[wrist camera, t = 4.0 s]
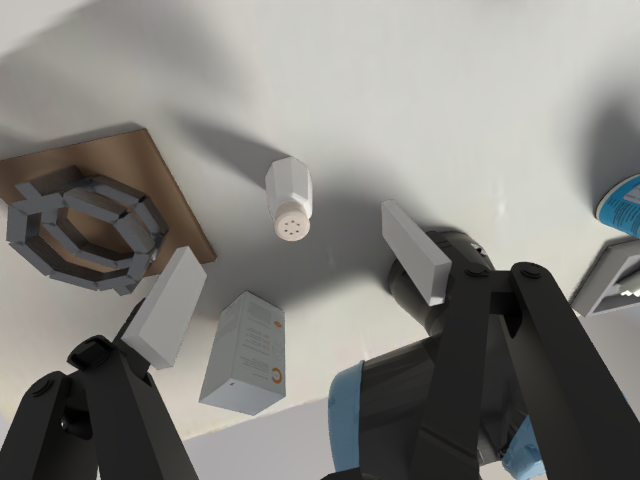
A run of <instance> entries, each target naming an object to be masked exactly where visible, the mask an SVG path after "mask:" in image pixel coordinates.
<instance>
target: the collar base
mask: <svg viewBox="0 0 640 480" xmlns="http://www.w3.org/2000/svg"><path fill="white" fill-rule="evenodd" d="M72 165H76V166H77V167H78V169H79V170H80V171H81V172H82V174H83V175H84V176H90V175H94V174H99V176H100V175H102V174H103V175H105V176H108V177H110V178H112V179H114V180H117V181H119V182H121V183H123V184H126V185H128V186H130V187H132V188H135V189H137V190H139V191H141V192H144V193H146V196H145V197H149V196H150V198H151V200H152V201H153V203H154V204H155V206H156V207H157V209H158V210H159V212H160V214H161V215H162V217H163V218H164V220H165V221H166V223H167V225H168V226H169V228H168V229H169V232H168V234H167V237H166V239H165V242H164V244H163V246H162V249H161V251H160V253H159V255H158V256H157V257H156V259H155V260H154V261H153V262H151V263H152V266H151V267H150V268H149V270H148V271H147V273H146V274H145V275H144V277H147V276H152V275H156V274H160V273H162V272H163V270H164V269H165V267H166V265H167V264H168V262H169V261H170V259H171V257H172V256H173V254H174V252H175V251H176V249H177V248H181V247H186V246H189V248H190V249H191V251H192V252H193V254H194V256H195V257H196V259H197V260H198V262H199V263H200V264H204V263H209V262H213V261H215V260H216V257H217V256H216V254H215V252H214V251H213V249H212V247H211V245H210V243H209V242H208V240H207V238H206V236H205V234H204V233H203V231H202V229H201V227H200V225H199V223H198V222H197V220H196V218H195V216H194V214H193V213H192V211H191V209H190V207H189V205H188V204H187V202H186V200H185V198H184V196H183V194H182V193H181V191H180V189H179V187H178V185H177V184H176V182H175V180H174V178H173V176H172V175H171V173H170V171H169V169H168V167H167V165H166V164H165V162H164V160H163V158H162V156H161V155H160V153H159V151H158V149H157V147H156V146H155V144H154V142H153V140H152V138H151V137H150V135H149V133H148V131H147V129H142V130H137V131H133V132H128V133H124V134H119V135H115V136H110V137H106V138H101V139H97V140H92V141H88V142H83V143H79V144H74V145H70V146H65V147H61V148H56V149H52V150H47V151H42V152H38V153H33V154H29V155H24V156H20V157H15V158H11V159H6V160H2V161H0V197H1V198H2V199H3V200H4V201H5V202H6V203H7V204H8V205H11V203H13V202H15V201H17V200H20V199H22V198H24V196H23V195H22V194H21V192H20V191H19V190H18V189H17V188H16V187H15V185H17V184H20V183H23V182H25V181H28V180H31V179H33V178H36V177H39V176H41V175H44V174H47V173H50V172H52V171H55V170H58V169H60V168H63V167H67V166H72ZM91 193H93V194H96V195H98V196H101V197H103V198H106V199H108V200H110V201H113V202H115V203H118V204H120V205H123V206H125V207H127V208H128V210H127V212H129V211H133V213H134V214H135V216H136V217H137V218H138V220H139V221H140V223H141V224H142V225H143V227H144V228H145V230H146V231H147V232H148V234H149V235H150V237H151V232H150V231H149V230H148V228H147V227H146V225H145V224H144V223H143V221H142V220H141V218H140V217H139V215H138V214H137V213H136V211H135V210H134V208H133V207H131V206H129V205H126V204H124V203H121V202H119V201H116V200H114V199H112V198H109V197H107V196H104V195H102V194H100V193H97V192H95V191H92V192H91ZM67 218H68V219H69V221H70V222H71V223H72V224H73V225H74V226H75V227H76V228H77V229H78V230H79V232H80V233H81V234H82V235H83V236H84V237H85V238H86V239H87V240H88V241H89V243H92V244H95V245H98V246H101V247H104V248H107V249H110V250H113V251H116V252H119V253H122V254H124V253H128V252H133V249H132V248H131V247H130V246H129V244H128V243H127V242H126V241H125V239H124V238H123V237H122V236H121V234H120V233H119V232H118V231H117V229H116V228H115V227H114V226H113V224H111V223H108V222H106V221H103V220H101V219H98V218H95V217H93V216H90V215H87V214H85V213H82V212H79V211H77V210H74V209H71V208H69V209H68V215H67ZM42 224H44V223H43V222H41V223H40V231H39V235H40V236H41V237H42V238H43V239H44V240H45V241H46V242H47V243H48V244H49V245H50V246H51V247H52V248H53V249H54V250H55V251H57V252H58V253H59V254H60V255H61V256H62V257H63V258H64V259H65V260H66V261H67V262H70V263H73V264H77V265H80V266H83V267H87V268H90V269H93V270H97V271H100V272H103V273H106V272H110V271H115V270H119V268H117V269H113V268H110V267H107V266H103V265H100V264H97V263H94V262H91V261H87V260H84V259H81V258H78V257H75V255H76V254H72V255H71V254H70V253H69V252H68V251H67V250H66V249H65V248H64V247H63V246H62V245H61V244H60V243H59V242H58V241H57V240H56V239H55V238H54V237H53V236H52V235H51V234H50V233H49V232H48V231H47V230H46V228H45V227H44V226H43V225H42Z"/></svg>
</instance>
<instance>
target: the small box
mask: <svg viewBox="0 0 640 480" xmlns="http://www.w3.org/2000/svg"><path fill="white" fill-rule="evenodd" d="M285 396H286V390H285V312H284V311H282V310H280V309H278V308H277V307H275V306H273V305H271V304H269V303H268V302H266V301H264V300H262V299H260V298H258V297H257V296H255V295H253V294H251V293H249V292H248V291H245V292H244V293H243V294H241V295H240V296H239V297H238V298H237V299H236V300H235V301H234V302H232V303H231V304H230V305H229V306H228V307H227V308H226V309H225V310H223V311H222V312H221V316H220V320H219V323H218V327H217V331H216V335H215V339H214V342H213V347H212V351H211V354H210V358H209V362H208V366H207V370H206V374H205V378H204V382H203V386H202V390H201V394H200V398H199V403H203V404H208V405H212V406H216V407H220V408H224V409H228V410H232V411H236V412H240V413H244V414H248V415H252V416H254V415H256V414H258V413H259V412H261V411H263V410H264V409H266V408H268V407H269V406H271V405H272V404H274V403H276V402H277V401H279V400H281V399H282V398H284V397H285Z"/></svg>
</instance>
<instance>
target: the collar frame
mask: <svg viewBox="0 0 640 480" xmlns="http://www.w3.org/2000/svg"><path fill="white" fill-rule="evenodd" d="M15 187H16V188H17V189H18V190H19V191H20V192H21V194H22V195H23V196H24V198H22V199H20V200H17V201H15V202H13V203H11V205H9V206H8V221H7V238H6V241H10V242H11V243H9V245H10V246H11V247H12V248H14V249H15V250H16V251H17V252H18V253H19V254H20V255H22V256H23V257H24V258H25V259H26V260H27V261H29V262H30V263H31V264H32V265H33V266H34V267H35V268H37V269H38V270H39V271H40V272H41V273H42V274H43V275H45V276H46V275H50V277H49V278H51V279H55V280H59V281H62V282H66V283H70V284H73V285H77V286H81V287H84V288H88V289H91V290H95V291H97V290H98V289H99V290H100V291H103V290H107V289H112V288H113V289H114V290H115V291H116V292H117V293H118V294H119V295H120V296H122V295H126V294H131V293H132V292H133V290H134V289H135V288H136V286H137V285H138V284H139V282H140V281H141V279H142V278H143V277H144V275H145V274H146V273H147V271H148V270H149V268H150V267H151V266H152V263H151V262H153V261H154V260H155V259H156V257H157V256H158V255H159V253H160V251H161V249H162V246H163V244H164V242H165V239H166V237H167V234H168V232H169V229H168V228H169V226H168V225H167V223H166V221H165V220H164V218H163V217H162V215H161V214H160V212H159V210H158V209H157V207H156V206H155V204H154V203H153V201H152V200H151V198H150V196H149V197H145V196H146V193H144V192H141V191H139V190H137V189H135V188H132V187H130V186H128V185H126V184H123V183H121V182H119V181H117V180H114V179H112V178H110V177H108V176H105V175H103V174H102V175H100V176H99V174H94V175H90V176H84V175H83V174H82V172H81V171H80V170H79V169H78V167H77V166H76V165H72V166H67V167H63V168H60V169H58V170H55V171H52V172H50V173H47V174H44V175H41V176H39V177H36V178H33V179H31V180H28V181H25V182H23V183H20V184H17V185H15ZM92 191H95V192H97V193H100V194H102V195H104V196H107V197H109V198H112V199H114V200H116V201H119V202H121V203H124V204H126V205H129V206H131V207H133V208H134V210H135V211H136V213H137V214H138V215H139V217H140V218H141V220H142V221H143V223H144V224H145V225H146V227H147V228H148V230H149V231H150V232H151V237H150V235H149V234H148V232H147V231H146V230H145V228H144V227H143V225H142V224H141V223H140V221H139V220H138V218H137V217H136V216H135V214H134V213H133V211H129V212H127V210H128V208H127V207H125V206H123V205H120V204H118V203H115V202H113V201H110V200H108V199H106V198H103V197H101V196H98V195H96V194H93V193H91V192H92ZM69 208H71V209H74V210H77V211H79V212H82V213H85V214H87V215H90V216H93V217H95V218H98V219H101V220H103V221H106V222H108V223H111V224H113V226H114V227H115V228H116V229H117V231H118V232H119V233H120V234H121V236H122V237H123V238H124V239H125V241H126V242H127V243H128V244H129V246H130V247H131V248H132V249H133V252H128V253H124V254H122V253H119V252H116V251H113V250H110V249H107V248H104V247H101V246H98V245H95V244H92V243H89V241H88V240H87V239H86V238H85V237H84V236H83V235H82V234H81V233H80V232H79V230H78V229H77V228H76V227H75V226H74V225H73V224H72V223H71V222H70V221H69V219H68V218H67V215H68V209H69ZM41 222H43V223H44V224H42V225H43V226H44V227H45V228H46V230H47V231H48V232H49V233H50V234H51V235H52V236H53V237H54V238H55V239H56V240H57V241H58V242H59V243H60V244H61V245H62V246H63V247H64V248H65V249H66V250H67V251H68V252H69V253H70V254H71V255H72V254H76V255H75V257H78V258H81V259H84V260H87V261H91V262H94V263H97V264H100V265H103V266H107V267H110V268H113V269H117V268H119V270H115V271H110V272H106V273H103V272H100V271H97V270H93V269H90V268H87V267H83V266H80V265H77V264H73V263H70V262H67V261H65V260H64V259H63V258H62V257H61V256H60V255H59V254H58V253H57V252H56V251H55V250H54V249H53V248H52V247H51V246H50V245H49V244H48V243H47V242H46V241H45V240H44V239H43V238H42V237H41V236H40V235H39V231H40V223H41Z"/></svg>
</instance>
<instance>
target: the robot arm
mask: <svg viewBox="0 0 640 480" xmlns="http://www.w3.org/2000/svg"><path fill="white" fill-rule="evenodd" d="M381 207H382V235H383V237H384V239H385V240H386V242H387V243H388V245H389V246H390V248H391V249H392V251H393V252H394V254H395V255H396V257H397V260H396V261H395V263H394V264H393V266H392V268H391V270H390V273H389V278H388V284H389V288H390V291H391V293H392V295H393V296H394V298H395V300H396V302H397V303H398V304H399V305H400V306H401V307H402V308H403V309H404V310H405V311H406V312H408V313H409V314H410V315H411V316H412V317H413V318H414V319H415V320H417V321H418V322H419V323H420V324H421V325H422V326H423V327H424V328H425V330H426V331H427V333H428V335H429V336H430V337H428V338H425V339H423V340H420V341H417V342H414V343H412V344H409V345H407V346H404V347H401V348H399V349H396V350H394V351H391V352H389V353H386V354H383V355H381V356H378V357H376V358H373V359H370V360H368V361H365V360H362V361H360V363H359V364H357V365H355V366H352V367H350V368H348V369H346V370H343V371H341V372H340V373H338V374H337V375H336V376H335V378H334V379H333V381H332V383H331V386H330V391H329V398H328V424H329V436H330V444H331V451H332V457H333V462H334V466H335V470H336V473H331V474H328V475H327V476H326V477H324V478H322V479H321V480H482V478H481V476H480V474H479V467H480V466H483V465H485V464H489V463H492V462H496V461H502V465H503V467H504V468H505V470H506V471H508V472H509V473H510V474H511V475H512V476H513V478H515V479H516V480H529V479H530V478H534V477H536V476H537V475H542V474H544V473H546V474H547V478H548V480H640V423H639V421H638V419H637V417H636V416H635V414H634V412H633V411H632V409H631V407H630V405H629V403H628V400H627V398H626V397H625V395H624V394H623V393H622V391H621V390H620V389H619V387H618V385H617V384H616V382H615V380H614V379H613V377H612V376H611V374H610V372H609V370H608V369H607V367H606V365H605V364H604V362H603V360H602V358H601V357H600V355H599V354H598V352H597V350H596V348H595V347H594V345H593V343H592V342H591V340H590V338H589V337H588V335H587V333H586V332H585V330H584V328H583V327H582V325H581V323H580V321H579V320H578V318H577V316H576V315H575V313H574V311H573V310H572V308H571V306H570V305H569V303H568V301H567V300H566V298H565V296H564V295H563V293H562V291H561V289H560V288H559V286H558V284H557V283H556V281H555V279H554V278H553V276H552V274H551V273H550V272H549V271H548V270H547V269H546V268H544V267H542V266H540V265H537V264H535V263H530V262H518V263H515V264H514V265H513V266H512V268H511V270H510V271H498V270H495V268H494V266H493V265H492V263H491V261H490V259H489V257H488V255H487V253H486V252H485V250H484V249H483V248H482V247H481V246H480V245H479V244H478V243H477V242H475V241H474V240H473V239H472V238H470V237H469V236H467V235H465V234H462V233H458V232H443V233H437V232H435V231H430V232H426V233H424V232H423V231H422V230H421V229H420V228H419V227H418V225H417V224H416V223H415V222H414V221H413V220H412V219H411V218H410V217H409V216H408V215H407V214H406V213H405V212H404V211H403V210H402V209H401V208H400V207H399V206H398V204H397V203H396V202H395V201H394V200H393V199H391V200H387V201H382V202H381ZM206 278H207V275H206V273H205V271H204V270H203V268H202V267H201V265H200V263H199V262H198V260H197V259H196V257H195V256H194V254H193V252H192V251H191V249H190V248H189V246H186V247H181V248H177V249H176V251H175V252H174V254H173V256H172V257H171V259H170V261H169V262H168V264H167V265H166V267H165V269H164V270H163V272H162V273H161V275H160V277H159V278H158V280H157V281H156V283H155V285H154V286H153V288H152V289H151V291H150V293H149V294H148V296H147V297H146V298H143V299H142V300H141V301H140V302H139V303H138V304H137V305H136V306H135V308H134V309H133V311H132V312H131V314H130V316H129V317H128V319H127V320H126V323H124V325H123V326H122V328H121V329H120V331H119V332H118V334H117V336H116V337H115V339H114V340H113V342H112V343H111V342H110V341H109V340H107V339H106V338H105V337H104V336H102V335H96V336H93V337H90V338H89V339H87V340H85V341H83V342H82V343H81V344H79V345H78V346H77V347H76V348H75V349H74V350H73V351H72V352H71V353H70V355H69V356H68V359H67V362H68V363H69V364H71V365H72V366H74V367H75V368H77V369H78V371H76V372H74V373H71V374H69V375H65V374H64V373H62V372H60V371H54V372H52V373H49V374H47V375H45V376H44V377H42V378H41V379H39V380H38V381H36V382H35V383H34V384H33V385H32V386H31V387H30V388H29V389H28V390H27V392H26V393H25V395H24V396H23V398H22V400H21V402H20V405H19V407H18V410H17V412H16V414H15V417H14V419H13V422H12V424H11V427H10V429H9V431H8V434H7V436H6V439H5V441H4V444H3V446H2V448H1V451H0V480H96V478H97V470H98V466H99V472H100V478H101V480H199V479H198V476H197V474H196V472H195V470H194V468H193V465H192V463H191V461H190V459H189V457H188V455H187V453H186V450H185V448H184V446H183V444H182V441H181V439H180V437H179V435H178V433H177V430H176V428H175V426H174V424H173V422H172V420H171V417H170V415H169V413H168V411H167V409H166V406H165V404H164V402H163V400H162V398H161V396H160V393H159V391H158V389H157V387H156V385H155V382H154V380H153V378H152V376H151V375H150V374H149V373H148V372H147V371H148V369H149V366H150V364H151V365H152V366H153V367H155V368H156V369H157V370H160V369H164V368H169V367H173V365H174V362H175V359H176V357H177V354H178V352H179V349H180V346H181V344H182V341H183V338H184V336H185V333H186V330H187V328H188V325H189V322H190V320H191V317H192V315H193V312H194V309H195V307H196V304H197V301H198V299H199V296H200V293H201V291H202V288H203V286H204V283H205V280H206ZM61 423H63V426H62V425H61Z"/></svg>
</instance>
